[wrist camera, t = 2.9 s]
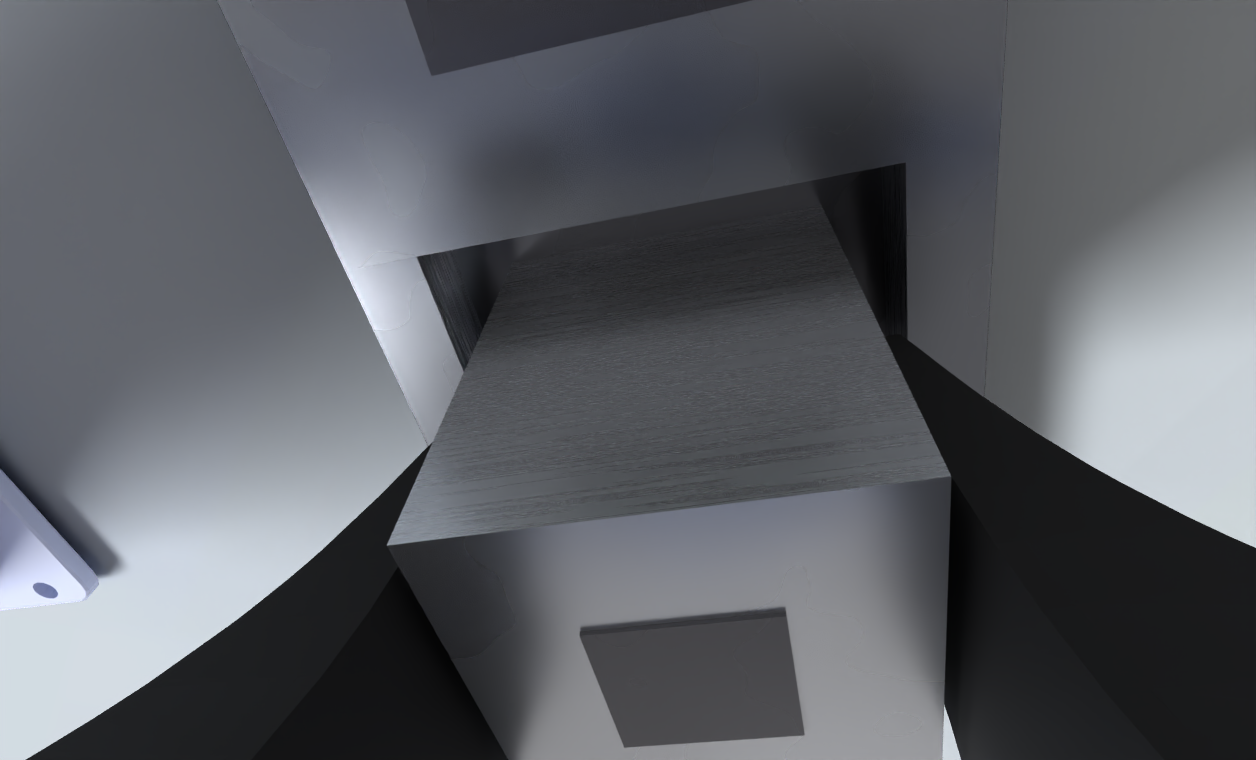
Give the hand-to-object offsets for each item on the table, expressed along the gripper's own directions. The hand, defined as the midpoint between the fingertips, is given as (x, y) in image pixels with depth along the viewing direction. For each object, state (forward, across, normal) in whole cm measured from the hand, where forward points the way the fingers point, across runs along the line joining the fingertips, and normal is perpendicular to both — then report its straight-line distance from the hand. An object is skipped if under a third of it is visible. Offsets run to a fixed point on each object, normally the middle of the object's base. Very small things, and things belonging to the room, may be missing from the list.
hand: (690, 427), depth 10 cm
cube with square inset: (+2, 0, 0) cm, 2 cm away
